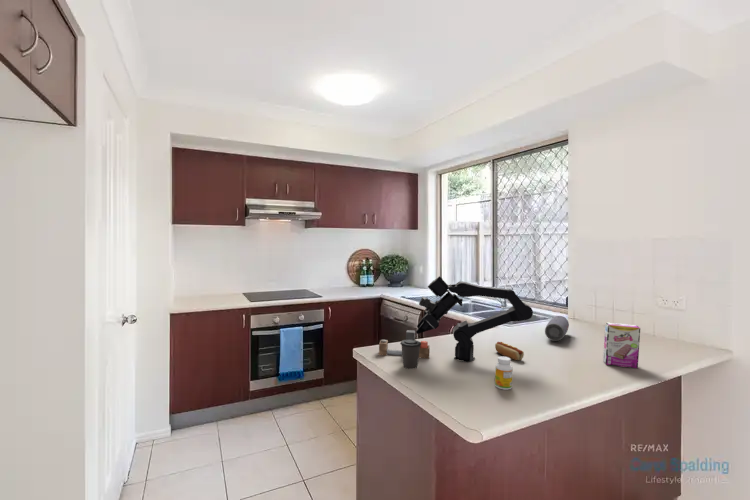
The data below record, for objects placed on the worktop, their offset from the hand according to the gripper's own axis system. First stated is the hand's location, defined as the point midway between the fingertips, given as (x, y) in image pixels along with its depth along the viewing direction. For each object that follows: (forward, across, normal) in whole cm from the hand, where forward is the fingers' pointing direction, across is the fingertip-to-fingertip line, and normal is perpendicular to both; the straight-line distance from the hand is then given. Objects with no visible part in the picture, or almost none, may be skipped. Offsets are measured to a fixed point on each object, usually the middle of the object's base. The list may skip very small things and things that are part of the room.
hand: (417, 330), depth 153 cm
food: (-19, -8, +35) cm, 41 cm away
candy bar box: (-49, -6, +65) cm, 82 cm away
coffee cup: (+9, +13, +6) cm, 17 cm away
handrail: (+12, 0, +4) cm, 12 cm away
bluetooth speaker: (-40, -43, +57) cm, 82 cm away
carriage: (+10, 0, +6) cm, 11 cm away
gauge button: (+4, 0, +8) cm, 9 cm away
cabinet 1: (+18, 0, -2) cm, 18 cm away
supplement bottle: (-13, +26, +29) cm, 41 cm away
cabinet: (+6, 0, +10) cm, 11 cm away
